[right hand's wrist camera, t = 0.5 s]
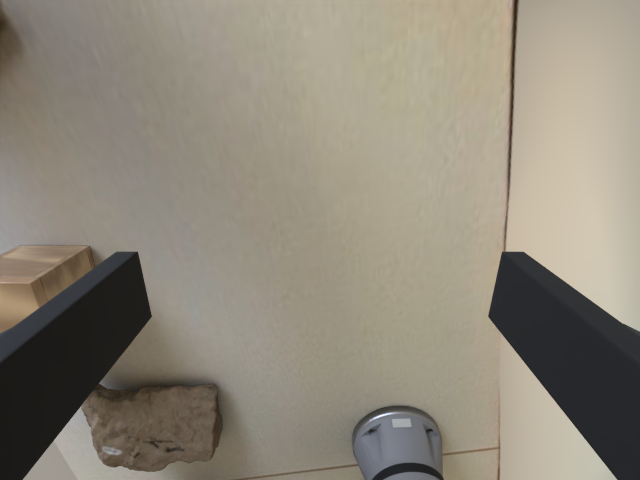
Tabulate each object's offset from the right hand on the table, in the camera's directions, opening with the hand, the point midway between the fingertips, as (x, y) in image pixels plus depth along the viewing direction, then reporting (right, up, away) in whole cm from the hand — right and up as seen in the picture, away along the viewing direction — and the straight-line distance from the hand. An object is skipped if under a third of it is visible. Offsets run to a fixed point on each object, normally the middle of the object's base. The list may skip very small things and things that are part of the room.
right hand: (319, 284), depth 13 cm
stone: (-27, -27, +45) cm, 59 cm away
